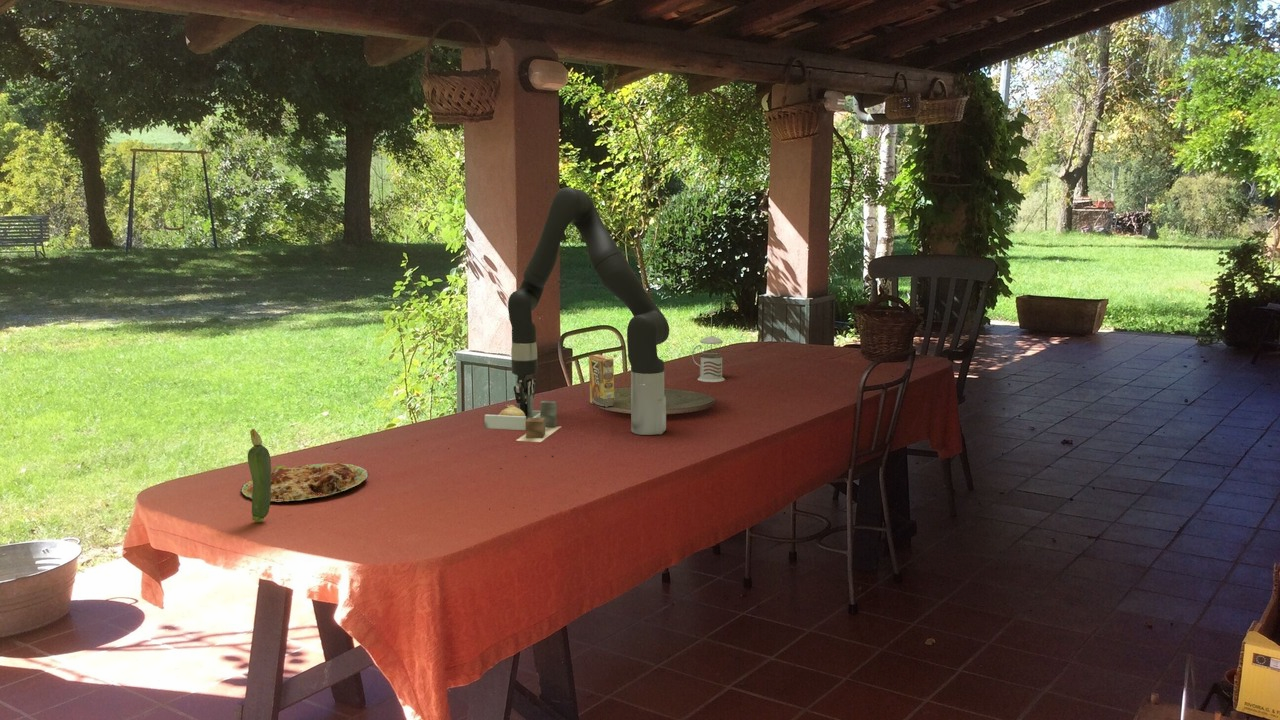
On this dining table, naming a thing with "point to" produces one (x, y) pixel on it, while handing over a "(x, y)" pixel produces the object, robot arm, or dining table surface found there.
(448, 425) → the dining table surface
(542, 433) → the walnut cube
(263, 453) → the vegetable
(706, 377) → the french press
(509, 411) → the onion
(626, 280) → the robot arm
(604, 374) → the candy box
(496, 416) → the grey rectangular frame
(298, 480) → the rice dish
